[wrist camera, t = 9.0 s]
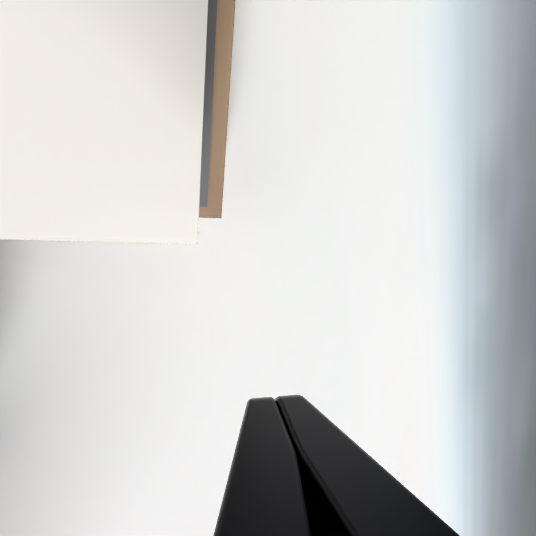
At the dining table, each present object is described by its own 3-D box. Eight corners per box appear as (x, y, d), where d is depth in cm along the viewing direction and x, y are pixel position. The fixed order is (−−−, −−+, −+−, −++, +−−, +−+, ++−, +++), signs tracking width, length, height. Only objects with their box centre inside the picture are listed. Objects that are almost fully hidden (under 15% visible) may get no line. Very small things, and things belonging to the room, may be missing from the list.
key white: (0, 193, 13) (-42, 238, 11) (-29, -25, 11) (-91, -37, 8) (192, 201, 14) (197, 244, 12) (199, 2, 12) (208, -2, 9)
